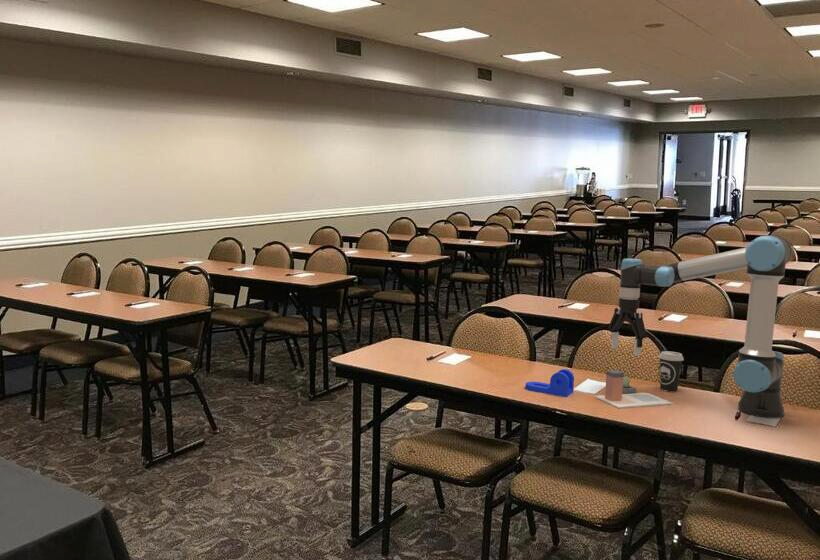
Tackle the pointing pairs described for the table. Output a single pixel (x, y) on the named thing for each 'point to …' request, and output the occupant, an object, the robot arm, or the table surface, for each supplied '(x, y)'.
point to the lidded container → (614, 385)
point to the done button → (626, 382)
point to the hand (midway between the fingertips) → (625, 351)
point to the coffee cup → (670, 370)
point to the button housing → (629, 390)
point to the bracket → (555, 384)
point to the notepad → (635, 400)
